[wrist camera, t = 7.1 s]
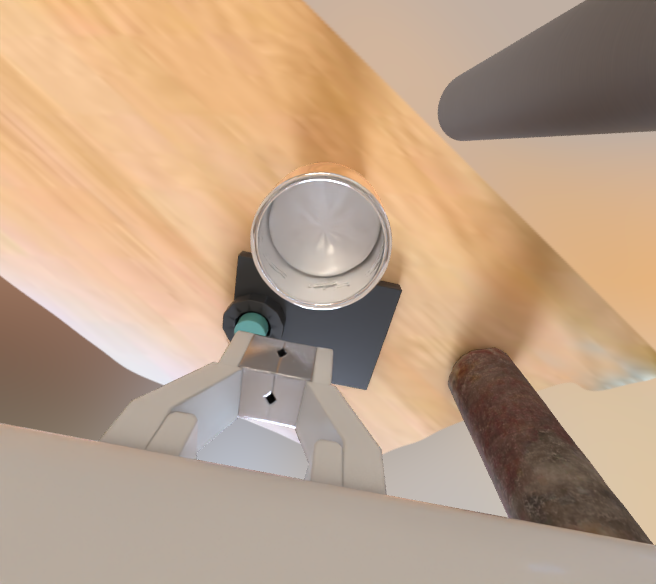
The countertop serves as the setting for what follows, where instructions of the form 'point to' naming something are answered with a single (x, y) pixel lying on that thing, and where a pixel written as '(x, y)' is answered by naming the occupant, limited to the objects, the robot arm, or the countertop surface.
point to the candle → (533, 451)
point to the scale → (319, 322)
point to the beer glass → (321, 237)
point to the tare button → (252, 324)
